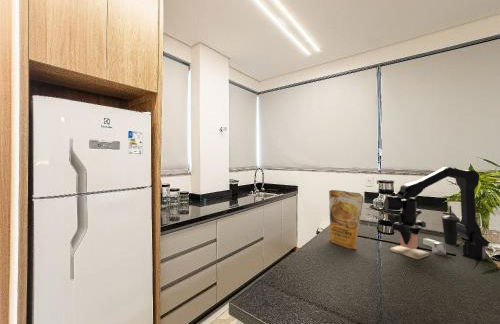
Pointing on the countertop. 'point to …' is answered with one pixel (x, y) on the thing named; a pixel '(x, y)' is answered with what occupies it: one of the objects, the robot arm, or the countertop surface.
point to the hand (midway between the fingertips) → (409, 243)
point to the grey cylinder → (438, 248)
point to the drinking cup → (450, 228)
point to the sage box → (428, 242)
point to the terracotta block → (411, 242)
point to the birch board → (409, 252)
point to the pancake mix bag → (344, 217)
